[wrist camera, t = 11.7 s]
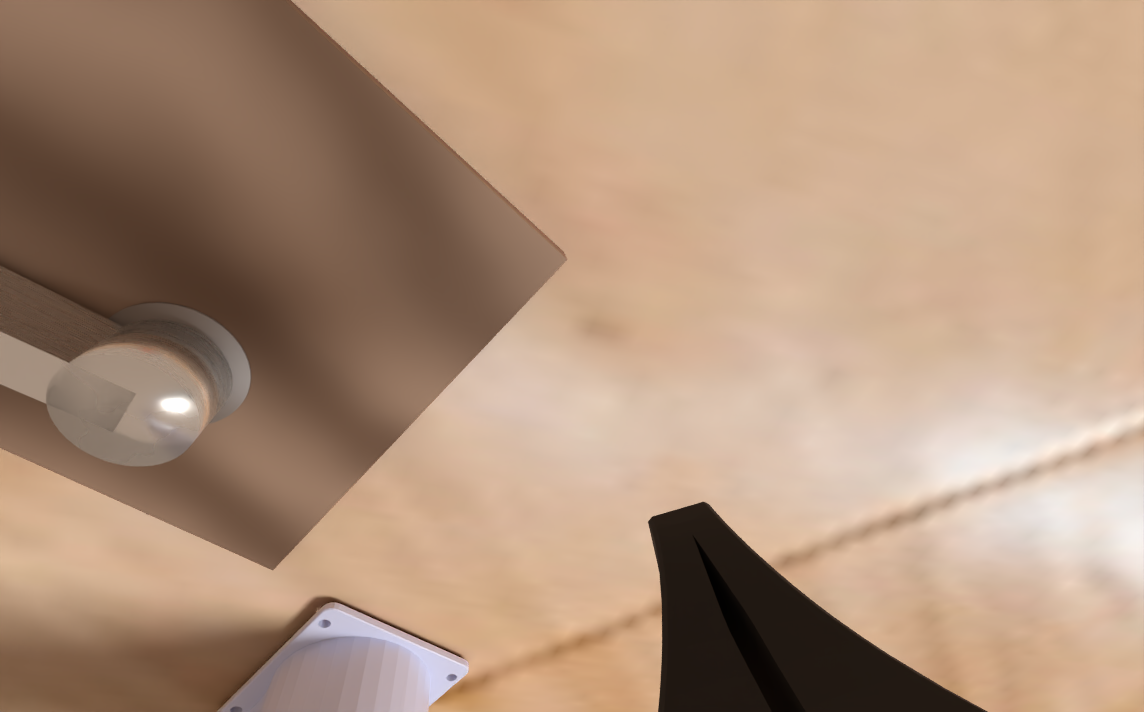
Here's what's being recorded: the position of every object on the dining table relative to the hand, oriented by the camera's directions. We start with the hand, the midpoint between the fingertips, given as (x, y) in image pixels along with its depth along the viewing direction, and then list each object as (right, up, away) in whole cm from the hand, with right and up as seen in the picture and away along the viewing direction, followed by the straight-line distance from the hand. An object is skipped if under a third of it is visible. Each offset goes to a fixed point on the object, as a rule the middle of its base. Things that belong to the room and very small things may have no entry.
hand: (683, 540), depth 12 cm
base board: (-14, +7, +5) cm, 17 cm away
